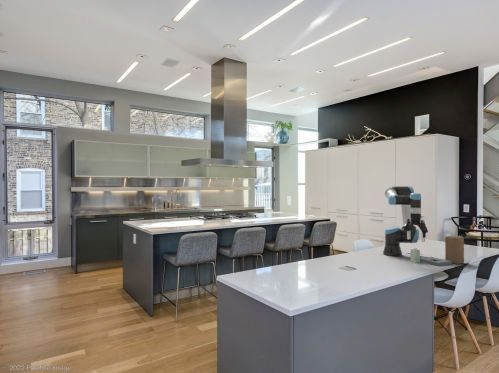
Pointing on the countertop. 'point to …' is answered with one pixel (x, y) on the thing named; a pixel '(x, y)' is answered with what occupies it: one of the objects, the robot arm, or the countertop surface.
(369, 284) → the countertop surface
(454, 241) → the block
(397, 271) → the countertop surface
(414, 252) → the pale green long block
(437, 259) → the plate
